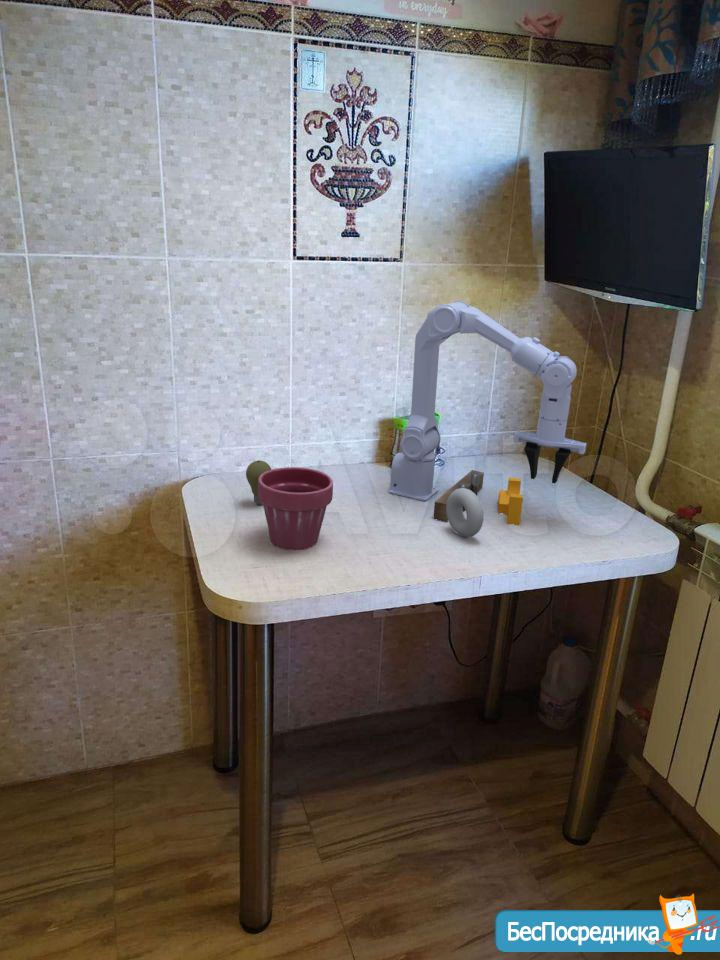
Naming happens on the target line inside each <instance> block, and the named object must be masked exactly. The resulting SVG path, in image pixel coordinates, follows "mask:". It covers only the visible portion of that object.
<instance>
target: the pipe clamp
mask: <svg viewBox="0 0 720 960" xmlns="http://www.w3.org/2000/svg"><path fill="white" fill-rule="evenodd" d="M521 485H522V479H521V478H520V477H519V478H517V477H508V481H507V490H502V489H499V490H498V498H497V514H500V513H503V515H506V516H507V517H506V516H505V517H506V525H511V524H514V525H513V526H520V522H521V515H522V508H523V503H524V501H523V500H524V494H522V493H521Z"/></svg>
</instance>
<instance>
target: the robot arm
mask: <svg viewBox="0 0 720 960" xmlns="http://www.w3.org/2000/svg"><path fill="white" fill-rule="evenodd" d="M458 333H459V334H478V335H480V336H481V337H483V338H484V339H487V340H488V341H490V342H491V343H493V344H495V345H497V346H499V347H501V349H504V350H506V351H507V352H509V353H510V357H511V360H512V362H514V363H515V364H516V365H518V366H520V367H521V368H523V369H525V370H526V371H528V372H529V373H531V374H532V375H534V376H535V377H537V378H541V382H542V384H543V389H542V394H541V397H540V398H541V399H540V406H539V413H538V419H537V420H538V421H537V428H536V432H529V431H528V432H526V431H518V430H517V431H515V432H514V435H513V442H514V443H523V444H525V446H524V447H523V449H524V450H523V451H524V453H525V456H526V457H527V461H528V465H529V472H530V473H529V474H530V480H535V479H536V477H537V474H538V466H539V459H540V458H539V457H540V453H541V448H542V447H546V448H551V449H557V451H556V452H555V454H554V455H555V458H554V467H553V474H552V479H551V483H552V484H556V483H557V482H558V479H559V476H560V473H561V471H562V470H563V467H564V465H565V463H566V462H567V460H568V458H569V457H570V455H571V453H572V452H574V453H578V454H579V455H584V454H585V453H586V450H587V449H586V448H587V442H581V441H579V440H575V439H571V438H567V437H565V436H566V430H567V424H568V417H569V412H570V405H571V399H572V398H571V397H572V396H571V393H572V387H573V384H572V383H573V381H574V380H575V379H576V377H577V373H578V368H577V365H576V363H575V362H574V361H573V360H571V358H570V357H569V356H566V355H564V356H562V355H560V352H558V351H552V350H551V349H549V348H548V347H546V346H544V345H543V344H541V343H540V342H541V340H540V339H539V338H537V336H536V337H535V336H534V337H533V338H531V337H530V336H525V337H522V338H521V337H520V338H519V336H516V335H515V334H514V333H512V332H511V331H510V330H508V329H507V328H505V327H504V326H503V325H501V324H499V323H498V322H497V321H495V320H494V319H492V318H491V317H489V316H488V315H487V314H486V313H484V312H483V311H481V310H480V309H478V308H477V307H474V306H470V305H469V304H468V303H467V302H465V301H462V300H457V301H453V302H451V303H444V304H440V305H439V304H438V306H436V307H435V308H433V309H432V310H430V311H429V312H427V315H426V319H425V320H424V322H423V323H422V325H421V327H420V328H419V330H418V331H417V333H416V334H415V340H414V354H413V355H414V357H413V375H412V389H411V390H412V391H411V392H412V393H411V409H410V410H411V411H410V417H409V419H408V421H407V422H406V424H405V428H404V434H403V436H402V438H401V439H400V443H399V444H400V445H399V446H400V447H399V448H400V450H401V452H397V453H396V454H395V456H394V457H393V459H392V463H391V468H390V469H391V471H390V472H391V473H390V483H389V485H390V486H389V490H388V493H389V494H393V495H398V496H401V497H407V498H409V499H410V498H411V499H415V500H420V501H422V502H423V501H424V502H427V501H428V500H429V499H430V498H432V497H433V496H434V495H435V494H437V493H438V492H439V488H435V487H434V477H435V476H434V475H435V464H436V452H435V450H436V449H437V448H438V447H439V446H440V443H441V440H442V438H441V432H440V431H439V427H438V426H439V425H438V424H439V422H438V418H437V417H436V415H435V413H436V403H437V401H436V399H437V388H438V387H437V385H438V384H437V383H438V374H439V372H438V369H439V354H440V346H441V345H442V344H443V343H444V342H445V341H446V340H448V339H450V338H451V336H453V335H455V334H458Z"/></svg>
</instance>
